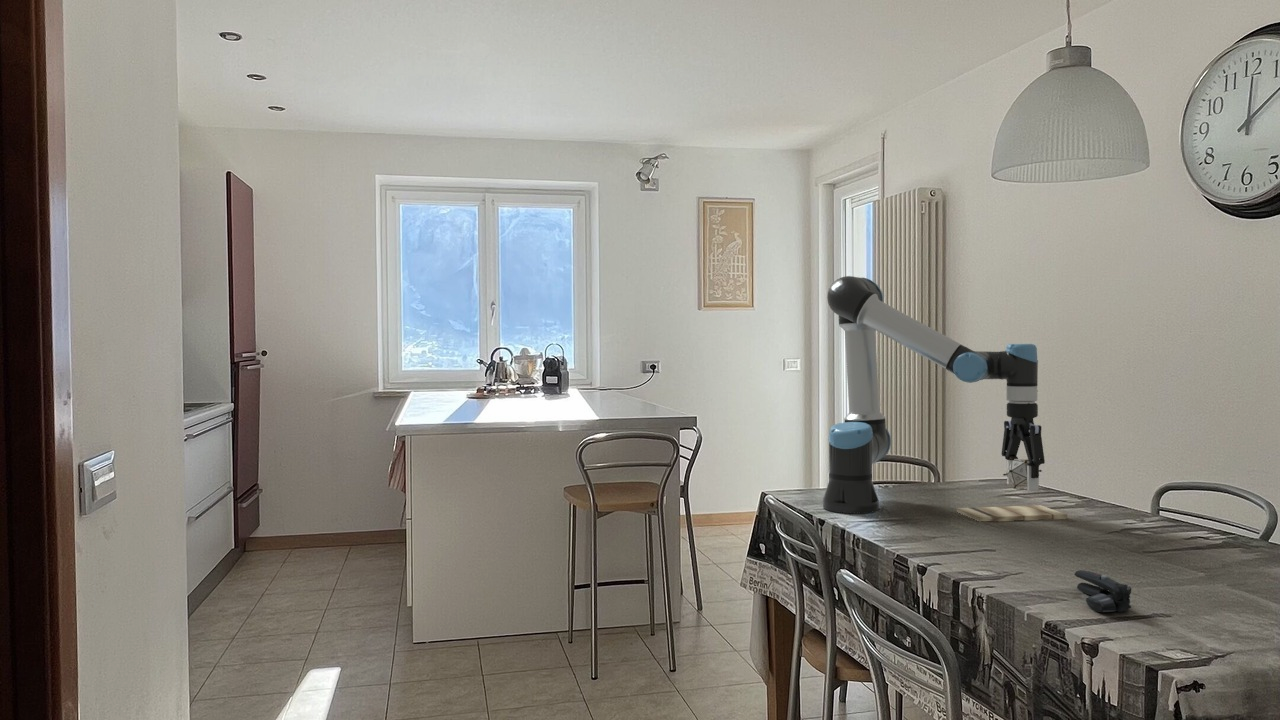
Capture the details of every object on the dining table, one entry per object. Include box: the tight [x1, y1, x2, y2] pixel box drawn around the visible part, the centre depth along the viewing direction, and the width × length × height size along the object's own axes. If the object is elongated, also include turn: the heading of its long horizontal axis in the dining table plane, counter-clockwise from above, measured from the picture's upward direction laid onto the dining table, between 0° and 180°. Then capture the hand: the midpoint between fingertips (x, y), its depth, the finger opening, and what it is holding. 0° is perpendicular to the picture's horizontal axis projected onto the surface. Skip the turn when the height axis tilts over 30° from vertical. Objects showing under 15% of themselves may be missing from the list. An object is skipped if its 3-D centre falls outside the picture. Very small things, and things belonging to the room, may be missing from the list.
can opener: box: [1073, 569, 1132, 613], centre depth 157 cm, size 18×7×6 cm, turn 173°
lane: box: [956, 504, 1068, 522], centre depth 230 cm, size 24×12×1 cm, turn 97°
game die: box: [1002, 457, 1043, 490], centre depth 229 cm, size 9×8×10 cm
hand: (1022, 487), depth 230 cm, fingers closed on game die, 9 cm apart
